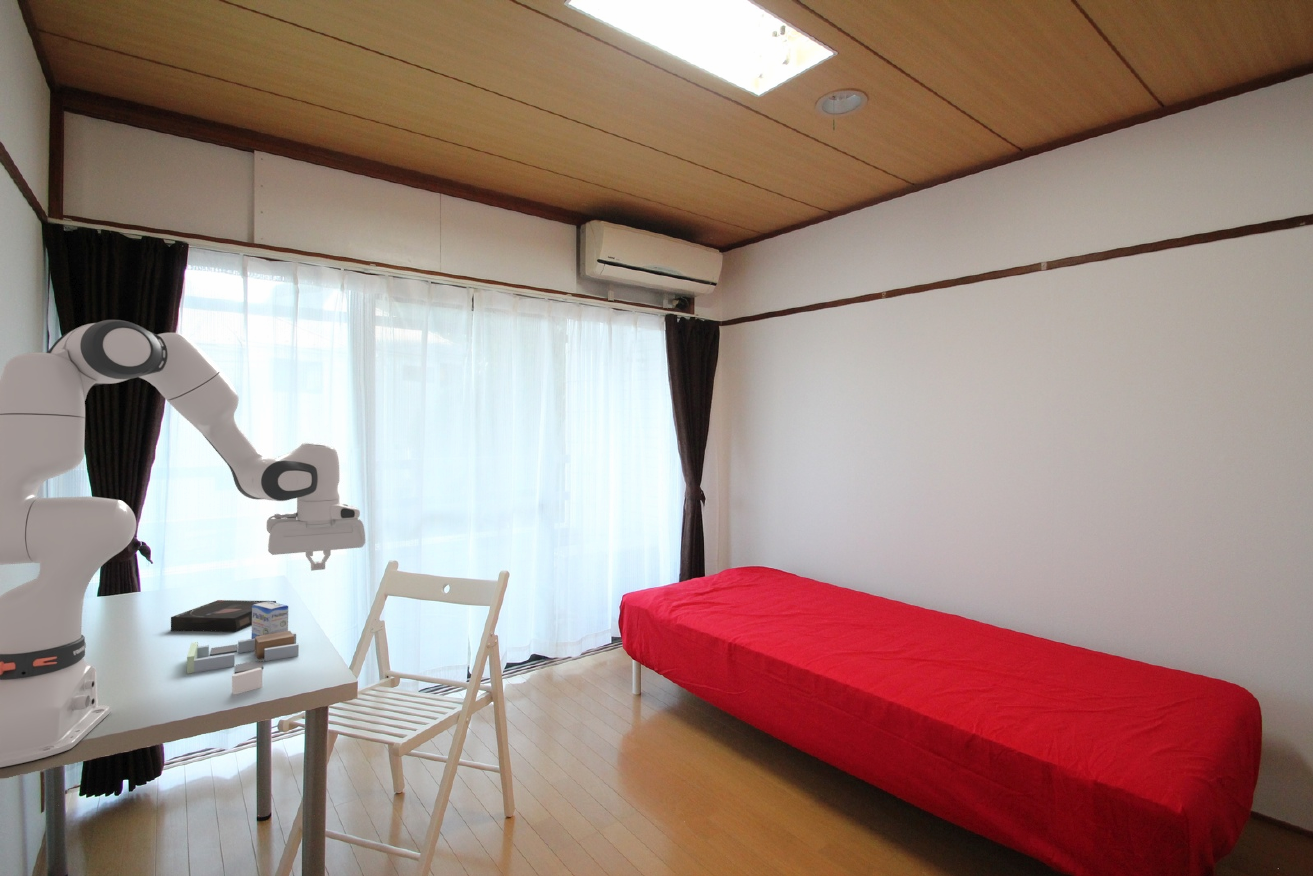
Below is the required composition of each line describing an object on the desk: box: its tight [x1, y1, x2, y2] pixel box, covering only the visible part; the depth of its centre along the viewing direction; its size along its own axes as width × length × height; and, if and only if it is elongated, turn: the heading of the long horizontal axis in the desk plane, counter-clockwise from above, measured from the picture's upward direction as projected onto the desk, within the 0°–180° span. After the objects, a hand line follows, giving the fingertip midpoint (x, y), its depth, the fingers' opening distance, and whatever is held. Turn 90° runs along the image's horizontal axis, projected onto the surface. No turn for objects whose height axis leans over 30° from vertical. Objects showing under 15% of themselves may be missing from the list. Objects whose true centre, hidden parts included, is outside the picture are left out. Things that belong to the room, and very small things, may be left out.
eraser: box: [231, 668, 263, 695], centre depth 122 cm, size 1×5×4 cm, turn 143°
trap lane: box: [186, 632, 299, 675], centre depth 139 cm, size 20×20×4 cm
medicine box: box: [250, 602, 289, 639], centre depth 151 cm, size 8×4×9 cm, turn 62°
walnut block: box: [254, 630, 294, 660], centre depth 142 cm, size 5×7×4 cm
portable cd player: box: [170, 599, 277, 633], centre depth 166 cm, size 16×17×4 cm
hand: (318, 569), depth 147 cm, fingers closed
